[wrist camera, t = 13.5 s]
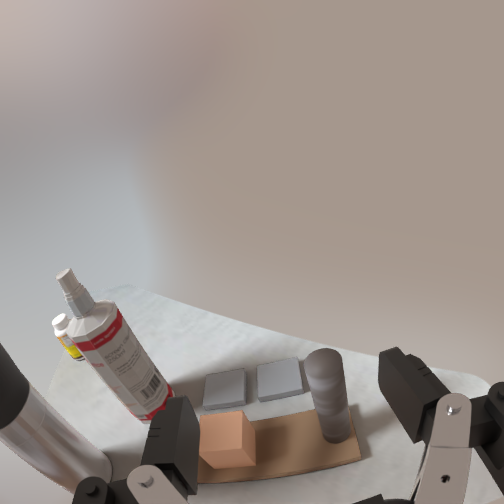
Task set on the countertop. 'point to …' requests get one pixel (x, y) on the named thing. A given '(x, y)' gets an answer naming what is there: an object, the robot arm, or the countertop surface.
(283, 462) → the pull strip
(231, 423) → the terracotta block
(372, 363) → the countertop surface
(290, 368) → the broken strip
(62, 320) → the supplement bottle
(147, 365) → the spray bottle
